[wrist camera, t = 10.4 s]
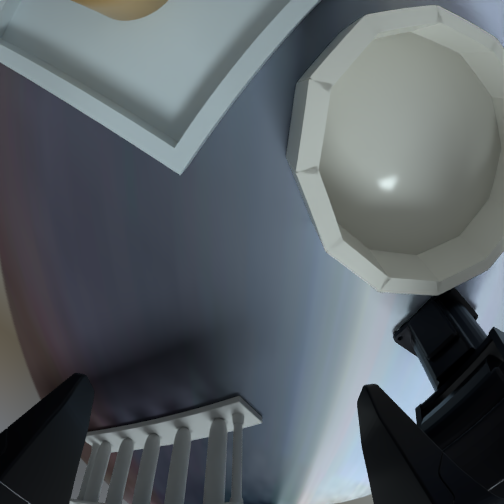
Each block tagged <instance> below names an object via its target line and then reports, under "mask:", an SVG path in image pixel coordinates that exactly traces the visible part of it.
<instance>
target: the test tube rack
mask: <svg viewBox="0 0 504 504" xmlns="http://www.w3.org/2000/svg"><path fill="white" fill-rule="evenodd" d="M260 423H262V416H260V415H259V414H258V413H257V412H256V411H255V410H254V409H253V408H252V407H251V406H250V405H249V404H247V403H246V402H245V401H244V400H243V399H242V398H241V397H240V396H237V397H233V398H230V399H227V400H224V401H221V402H217V403H214V404H211V405H207V406H204V407H200V408H197V409H193V410H189V411H186V412H182V413H178V414H174V415H170V416H166V417H162V418H158V419H153V420H149V421H144V422H140V423H135V424H130V425H125V426H120V427H115V428H109V429H103V430H97V431H91V432H87V436H86V439H85V441H86V442H87V443H89V444H90V445H92V452H91V455H90V459H89V462H88V465H87V468H86V472H85V475H84V478H83V482H82V485H81V489H80V493H79V496H78V497H77V499H70V503H69V504H122V499H123V494H124V490H125V485H126V481H127V476H128V472H129V467H130V463H131V459H132V455H133V450H136V449H143V453H142V458H141V462H140V467H139V472H138V477H137V481H136V486H135V491H134V496H133V501H132V504H150V500H151V494H152V488H153V482H154V477H155V471H156V466H157V460H158V455H159V449H160V446H164V445H169V444H173V450H172V456H171V463H170V469H169V475H168V482H167V489H166V495H165V502H164V504H184V497H185V488H186V479H187V471H188V463H189V455H190V447H191V440H196V439H200V438H205V437H209V440H208V451H207V462H206V474H205V486H204V498H203V504H243V499H242V498H241V492H242V428H246V427H249V426H253V425H256V424H260ZM230 431H234V434H233V463H232V495H231V498H230V502H226V503H224V496H225V473H226V452H227V432H230ZM111 452H118V454H117V458H116V462H115V465H114V469H113V473H112V477H111V481H110V485H109V489H108V493H107V498H106V502H105V503H99V502H98V500H99V496H100V492H101V488H102V484H103V480H104V476H105V473H106V469H107V465H108V462H109V458H110V454H111Z"/></svg>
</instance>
